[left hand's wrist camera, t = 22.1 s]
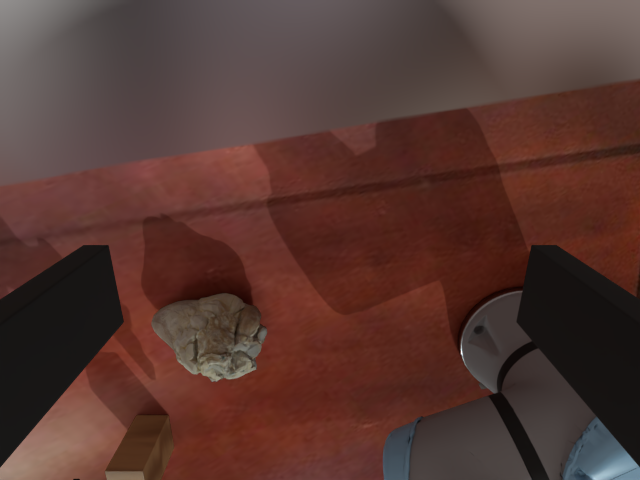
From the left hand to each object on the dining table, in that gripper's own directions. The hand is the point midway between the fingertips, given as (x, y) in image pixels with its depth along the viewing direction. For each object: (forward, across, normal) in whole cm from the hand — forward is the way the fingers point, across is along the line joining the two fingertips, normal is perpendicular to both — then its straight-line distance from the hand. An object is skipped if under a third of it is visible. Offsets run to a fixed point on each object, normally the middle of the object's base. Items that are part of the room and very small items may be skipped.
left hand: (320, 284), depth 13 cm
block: (+36, -25, -43) cm, 61 cm away
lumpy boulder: (+36, -14, -23) cm, 45 cm away
